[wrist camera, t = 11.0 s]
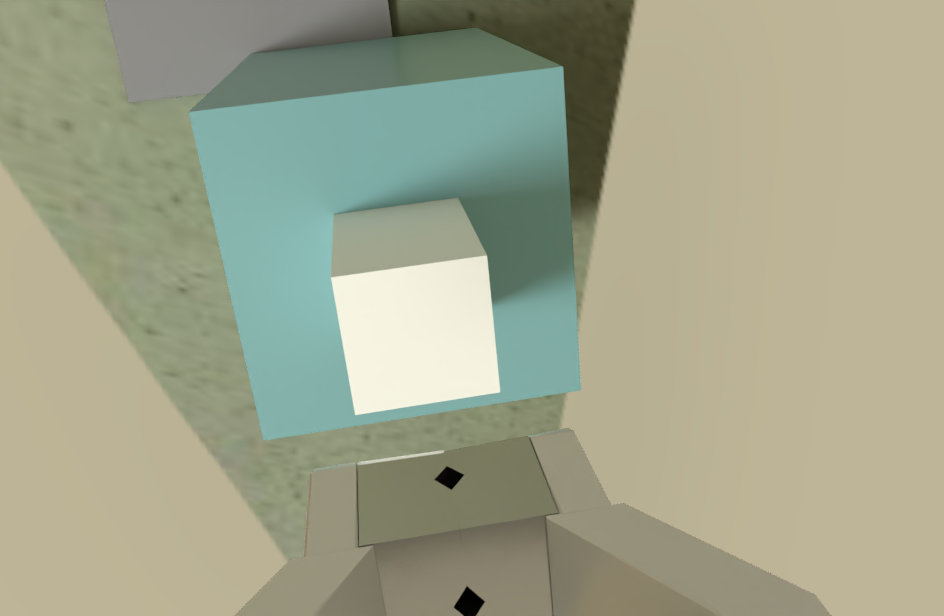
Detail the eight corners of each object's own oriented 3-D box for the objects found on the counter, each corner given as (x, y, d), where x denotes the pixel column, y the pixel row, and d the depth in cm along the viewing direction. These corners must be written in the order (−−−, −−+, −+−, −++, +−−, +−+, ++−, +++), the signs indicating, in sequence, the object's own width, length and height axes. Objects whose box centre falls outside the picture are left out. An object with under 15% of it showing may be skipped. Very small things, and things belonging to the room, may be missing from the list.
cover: (250, 53, 31) (146, 152, 15) (476, 27, 32) (621, 92, 15) (292, 268, 34) (245, 547, 18) (496, 239, 35) (632, 481, 19)
